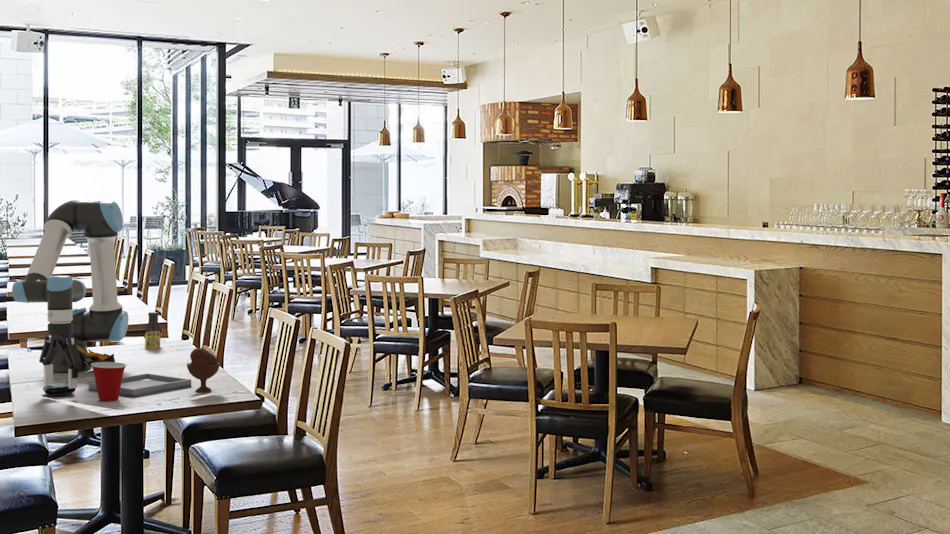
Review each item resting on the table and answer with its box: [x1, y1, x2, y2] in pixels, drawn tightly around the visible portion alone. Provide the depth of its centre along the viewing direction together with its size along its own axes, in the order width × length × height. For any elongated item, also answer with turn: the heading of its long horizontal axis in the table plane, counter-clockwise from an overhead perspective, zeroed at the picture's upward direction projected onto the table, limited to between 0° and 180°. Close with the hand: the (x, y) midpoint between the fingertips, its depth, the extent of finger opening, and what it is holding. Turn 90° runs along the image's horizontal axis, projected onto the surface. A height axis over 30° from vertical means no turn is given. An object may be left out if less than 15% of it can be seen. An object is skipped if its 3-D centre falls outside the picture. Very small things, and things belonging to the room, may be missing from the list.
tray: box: [88, 372, 192, 398], centre depth 309 cm, size 24×24×2 cm
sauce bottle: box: [144, 311, 161, 350], centre depth 381 cm, size 6×6×20 cm
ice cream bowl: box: [186, 347, 221, 394], centre depth 303 cm, size 11×11×15 cm
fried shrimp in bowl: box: [77, 345, 116, 367], centre depth 334 cm, size 9×11×18 cm
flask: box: [42, 382, 77, 396], centre depth 297 cm, size 9×3×11 cm
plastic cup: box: [91, 361, 127, 402], centre depth 288 cm, size 11×11×12 cm
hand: (60, 386), depth 293 cm, fingers open, 13 cm apart
